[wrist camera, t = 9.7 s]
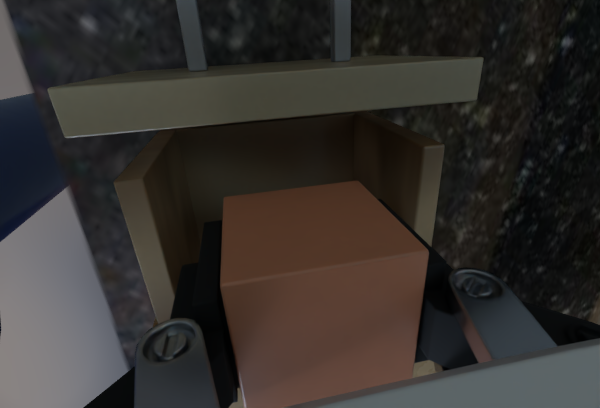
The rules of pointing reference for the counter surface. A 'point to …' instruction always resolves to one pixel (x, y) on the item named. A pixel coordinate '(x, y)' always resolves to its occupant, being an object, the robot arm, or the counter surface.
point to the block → (318, 293)
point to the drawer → (262, 136)
